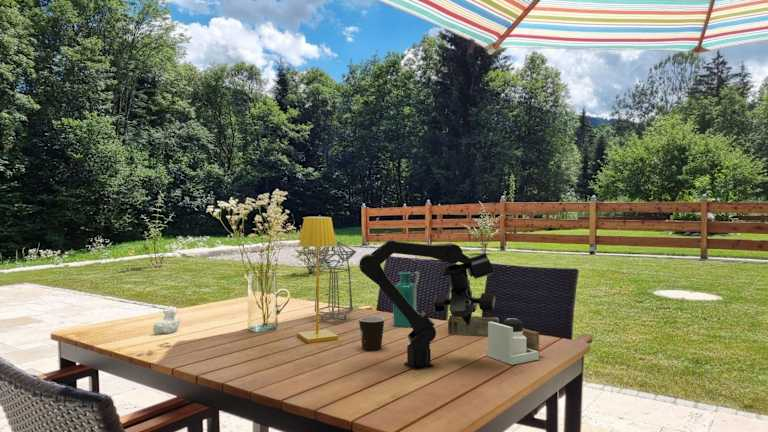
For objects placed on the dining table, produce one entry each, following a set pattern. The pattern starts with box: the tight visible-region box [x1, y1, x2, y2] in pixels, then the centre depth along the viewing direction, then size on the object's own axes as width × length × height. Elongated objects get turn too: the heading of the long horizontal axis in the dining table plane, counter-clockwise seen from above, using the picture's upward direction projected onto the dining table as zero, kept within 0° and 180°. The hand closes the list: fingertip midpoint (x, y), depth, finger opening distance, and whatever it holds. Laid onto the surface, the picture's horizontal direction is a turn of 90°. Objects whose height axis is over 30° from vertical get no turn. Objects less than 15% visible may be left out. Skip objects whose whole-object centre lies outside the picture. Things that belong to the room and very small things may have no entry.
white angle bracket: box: [485, 322, 540, 366], centre depth 158 cm, size 12×12×11 cm
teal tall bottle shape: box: [392, 271, 420, 328], centre depth 204 cm, size 10×8×22 cm
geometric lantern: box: [309, 239, 357, 324], centre depth 211 cm, size 16×16×35 cm
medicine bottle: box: [502, 318, 527, 355], centre depth 158 cm, size 7×7×12 cm
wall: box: [522, 327, 540, 353], centre depth 161 cm, size 2×8×8 cm, turn 30°
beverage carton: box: [447, 314, 500, 338], centre depth 190 cm, size 8×19×7 cm, turn 79°
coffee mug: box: [358, 316, 385, 352], centre depth 170 cm, size 12×9×10 cm
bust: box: [152, 305, 181, 335], centre depth 191 cm, size 12×8×11 cm
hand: (468, 324), depth 157 cm, fingers closed
